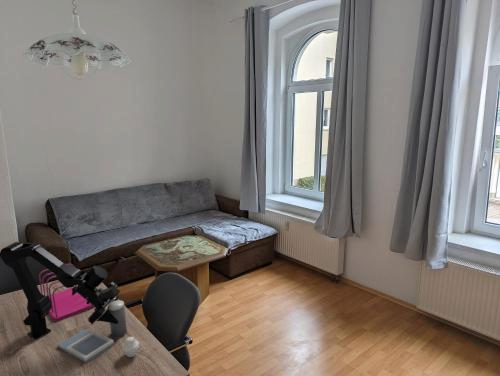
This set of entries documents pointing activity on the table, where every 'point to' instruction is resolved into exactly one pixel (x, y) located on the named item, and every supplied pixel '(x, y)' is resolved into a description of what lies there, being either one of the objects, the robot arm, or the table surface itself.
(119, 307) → the grey cup with lid
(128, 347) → the muffin
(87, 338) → the charging board
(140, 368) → the table surface
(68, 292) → the file sorter
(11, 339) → the table surface
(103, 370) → the table surface
